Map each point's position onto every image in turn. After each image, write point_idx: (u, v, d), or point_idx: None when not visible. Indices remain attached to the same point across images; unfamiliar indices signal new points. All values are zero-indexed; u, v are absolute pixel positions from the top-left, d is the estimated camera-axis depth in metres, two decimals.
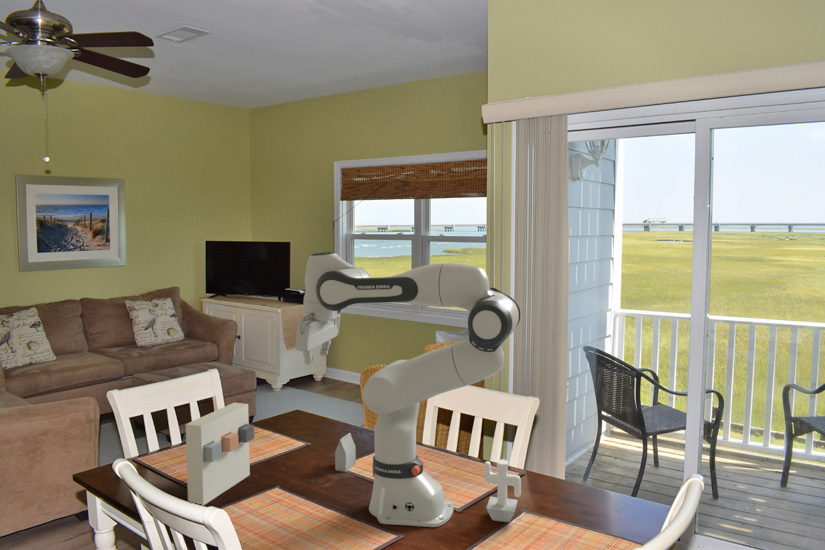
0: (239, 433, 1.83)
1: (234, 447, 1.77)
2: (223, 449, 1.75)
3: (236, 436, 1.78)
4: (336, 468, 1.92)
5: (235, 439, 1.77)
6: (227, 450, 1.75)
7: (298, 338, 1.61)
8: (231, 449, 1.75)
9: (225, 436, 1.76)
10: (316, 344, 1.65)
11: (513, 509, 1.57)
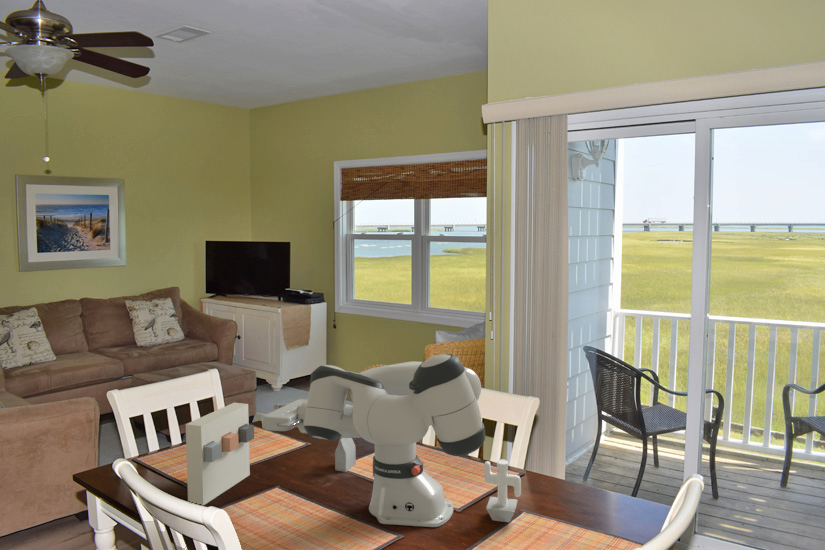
0: (239, 433, 1.83)
1: (234, 447, 1.77)
2: (223, 449, 1.75)
3: (236, 436, 1.78)
4: (336, 468, 1.92)
5: (235, 439, 1.77)
6: (227, 450, 1.75)
7: (272, 421, 1.60)
8: (231, 449, 1.75)
9: (225, 436, 1.76)
10: None
11: (513, 509, 1.57)
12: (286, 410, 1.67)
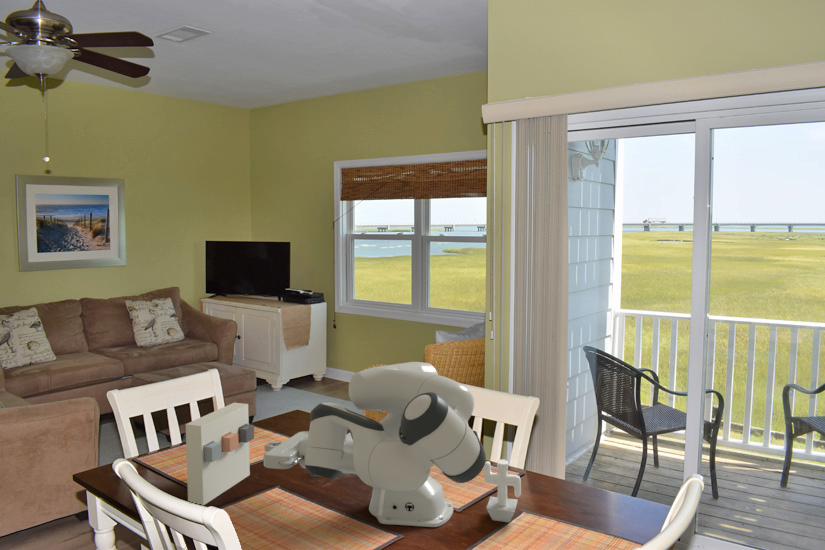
0: (239, 433, 1.83)
1: (234, 447, 1.77)
2: (223, 449, 1.75)
3: (236, 436, 1.78)
4: None
5: (235, 439, 1.77)
6: (227, 450, 1.75)
7: (273, 459, 1.61)
8: (231, 449, 1.75)
9: (225, 436, 1.76)
10: None
11: (513, 509, 1.57)
12: (287, 446, 1.67)
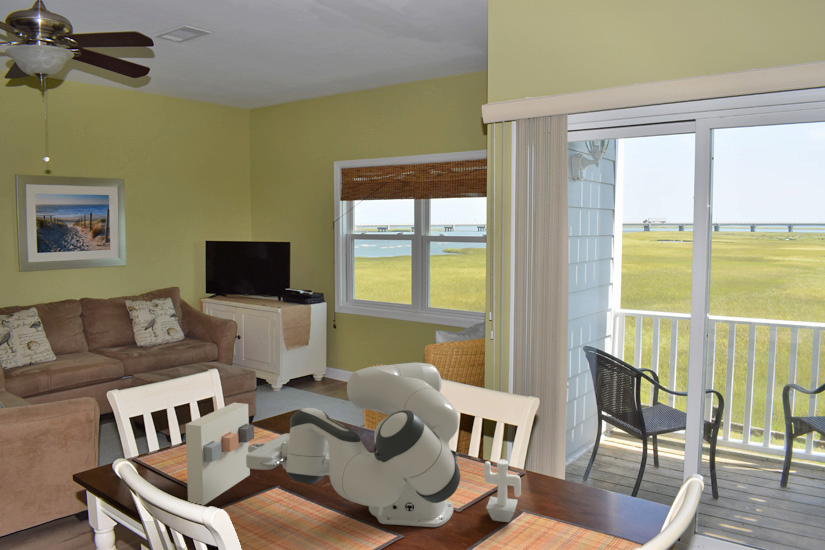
0: (239, 433, 1.83)
1: (234, 447, 1.77)
2: (223, 449, 1.75)
3: (236, 436, 1.78)
4: None
5: (235, 439, 1.77)
6: (227, 450, 1.75)
7: (256, 460, 1.62)
8: (231, 449, 1.75)
9: (225, 436, 1.76)
10: None
11: (513, 509, 1.57)
12: (270, 447, 1.68)
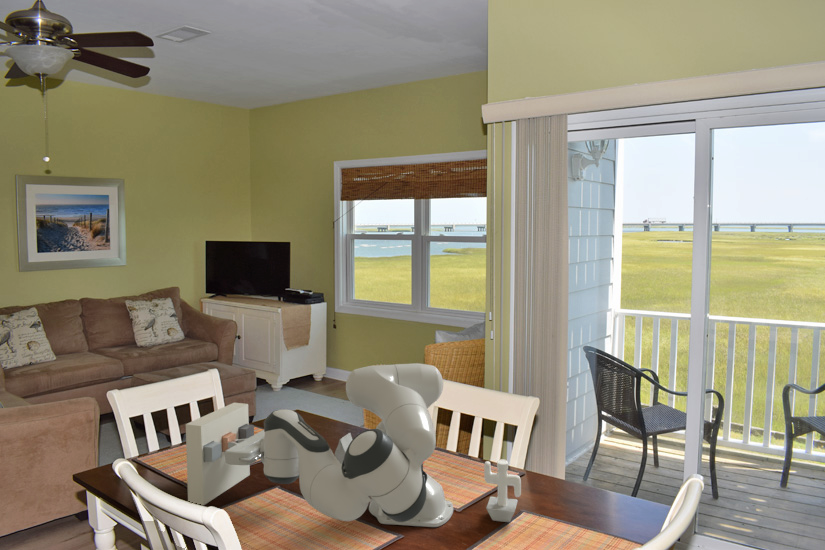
0: (239, 433, 1.83)
1: None
2: None
3: (234, 436, 1.78)
4: None
5: (233, 439, 1.77)
6: (225, 450, 1.75)
7: (234, 456, 1.64)
8: None
9: None
10: None
11: (513, 509, 1.57)
12: (249, 443, 1.71)
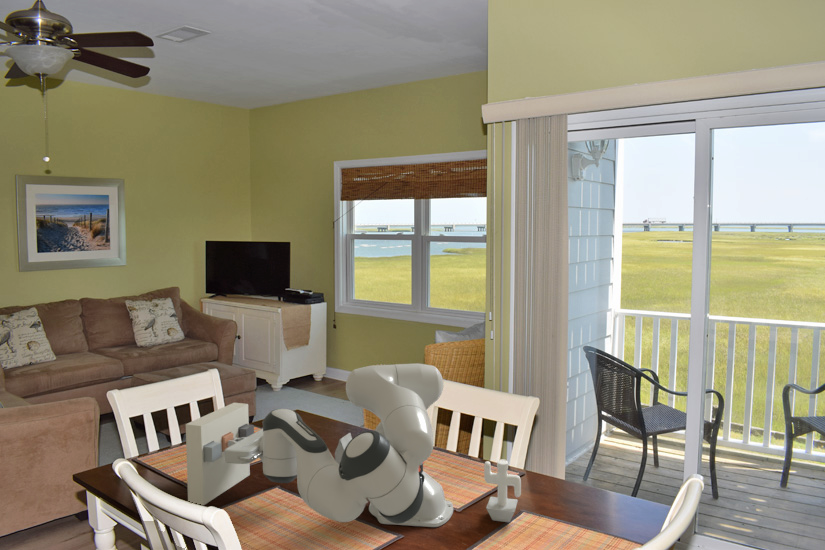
0: (239, 433, 1.83)
1: None
2: None
3: (231, 435, 1.78)
4: None
5: (230, 438, 1.78)
6: (222, 449, 1.76)
7: (234, 454, 1.65)
8: None
9: None
10: None
11: (513, 509, 1.57)
12: (249, 442, 1.72)
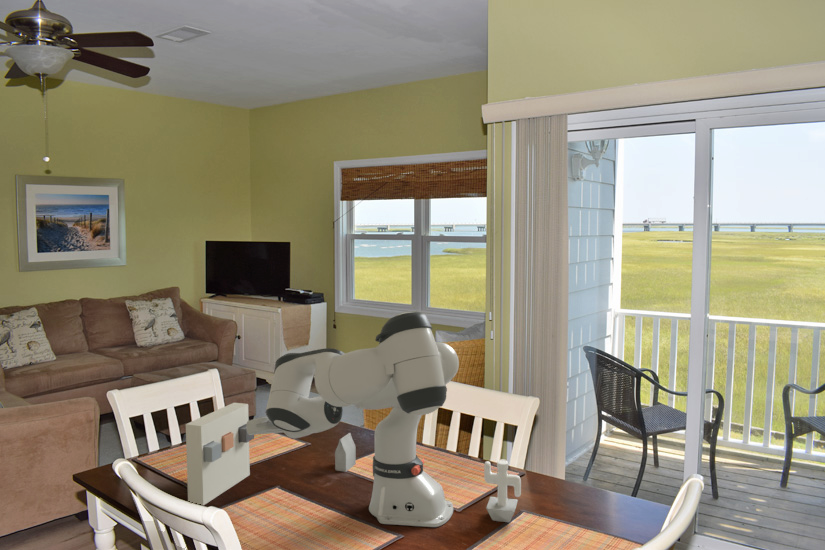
0: (239, 433, 1.83)
1: (229, 446, 1.77)
2: None
3: (231, 435, 1.78)
4: (336, 468, 1.92)
5: (230, 438, 1.78)
6: (222, 449, 1.76)
7: (252, 423, 1.60)
8: (226, 448, 1.76)
9: None
10: (266, 433, 1.64)
11: (513, 509, 1.57)
12: None
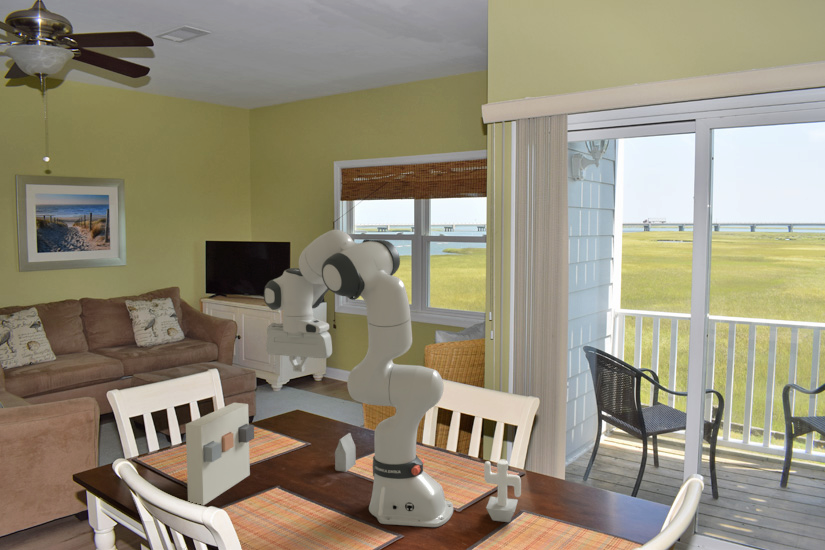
0: (239, 433, 1.83)
1: (229, 446, 1.77)
2: None
3: (231, 435, 1.78)
4: (336, 468, 1.92)
5: (230, 438, 1.78)
6: (222, 449, 1.76)
7: None
8: (226, 448, 1.76)
9: None
10: (282, 352, 1.81)
11: (513, 509, 1.57)
12: None
